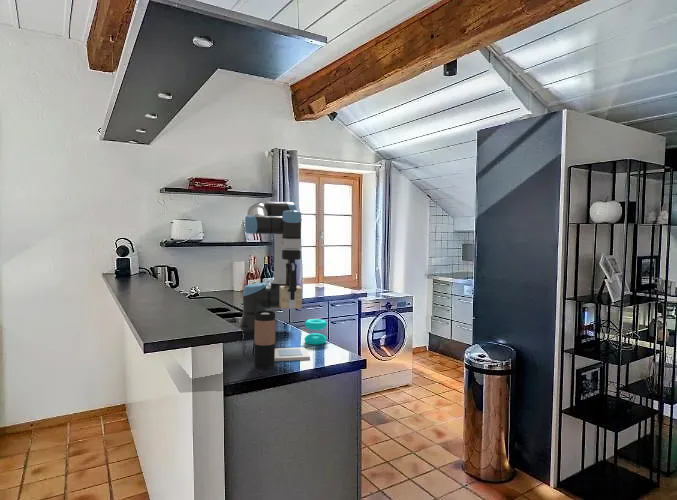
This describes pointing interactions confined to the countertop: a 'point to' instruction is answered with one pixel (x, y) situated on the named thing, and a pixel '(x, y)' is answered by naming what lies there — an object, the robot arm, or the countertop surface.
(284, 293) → the wooden cube
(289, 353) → the white flat square slab
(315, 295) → the countertop surface
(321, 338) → the donuts
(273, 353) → the travel mug
